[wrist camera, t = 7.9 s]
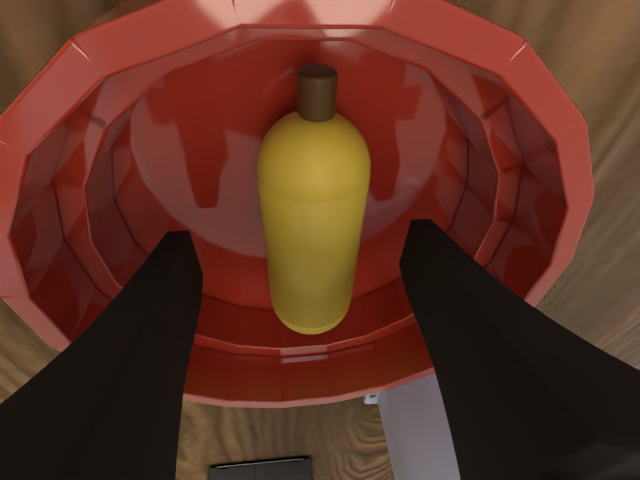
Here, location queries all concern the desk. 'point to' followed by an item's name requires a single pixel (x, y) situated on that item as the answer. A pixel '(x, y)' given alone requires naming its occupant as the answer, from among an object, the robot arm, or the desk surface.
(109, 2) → the desk surface
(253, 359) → the bowl
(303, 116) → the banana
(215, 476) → the disk drive
